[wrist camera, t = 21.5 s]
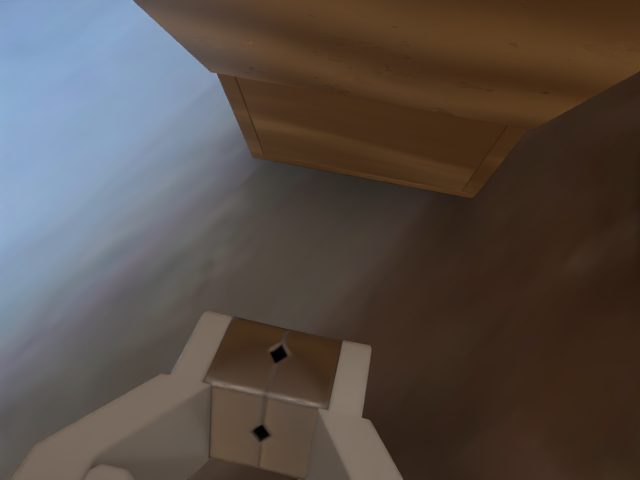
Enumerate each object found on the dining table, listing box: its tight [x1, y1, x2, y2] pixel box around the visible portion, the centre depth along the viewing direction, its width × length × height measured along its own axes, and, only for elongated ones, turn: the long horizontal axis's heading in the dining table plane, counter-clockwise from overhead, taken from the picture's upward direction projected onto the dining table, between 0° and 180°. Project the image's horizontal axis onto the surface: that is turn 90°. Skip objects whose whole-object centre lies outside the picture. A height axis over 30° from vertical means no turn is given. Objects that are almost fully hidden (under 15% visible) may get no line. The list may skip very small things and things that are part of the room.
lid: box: [133, 0, 640, 130], centre depth 17 cm, size 16×14×1 cm
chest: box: [217, 73, 528, 198], centre depth 32 cm, size 15×14×11 cm
